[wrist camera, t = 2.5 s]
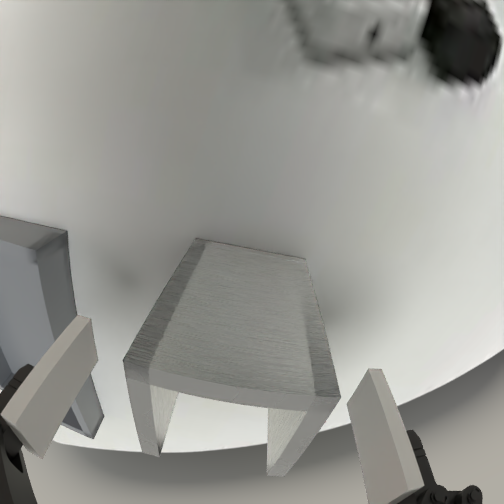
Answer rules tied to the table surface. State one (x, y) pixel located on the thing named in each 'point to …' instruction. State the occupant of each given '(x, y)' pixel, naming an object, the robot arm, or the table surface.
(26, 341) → the tray
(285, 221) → the table surface
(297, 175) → the table surface
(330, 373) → the u-shaped arch block
